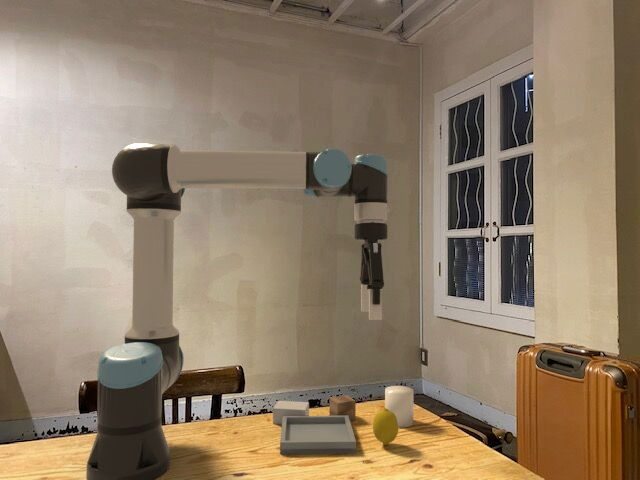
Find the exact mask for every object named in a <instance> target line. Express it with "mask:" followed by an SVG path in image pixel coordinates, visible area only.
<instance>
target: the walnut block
mask: <svg viewBox="0 0 640 480" xmlns="http://www.w3.org/2000/svg"><path fill="white" fill-rule="evenodd" d="M356 402H357V401H356V400H355V399H353V398H352V397H350V396H349V394H345V395H337V396H330V397H329V410H328V411H329V413H328V414H329V415H328V416H343V415H348V416H349V420H350V422H352V421H353V422H354V421H356V419H357V418H356V413H357V411H356Z"/></svg>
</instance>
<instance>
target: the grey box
mask: <svg viewBox="0 0 640 480" xmlns="http://www.w3.org/2000/svg"><path fill="white" fill-rule="evenodd" d="M283 416H310V402H308V401H294V400H293V401H292V400H291V401H289V400H277V403H275V405H274V406H273V408H272V424H273V425H282V419H283Z"/></svg>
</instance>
